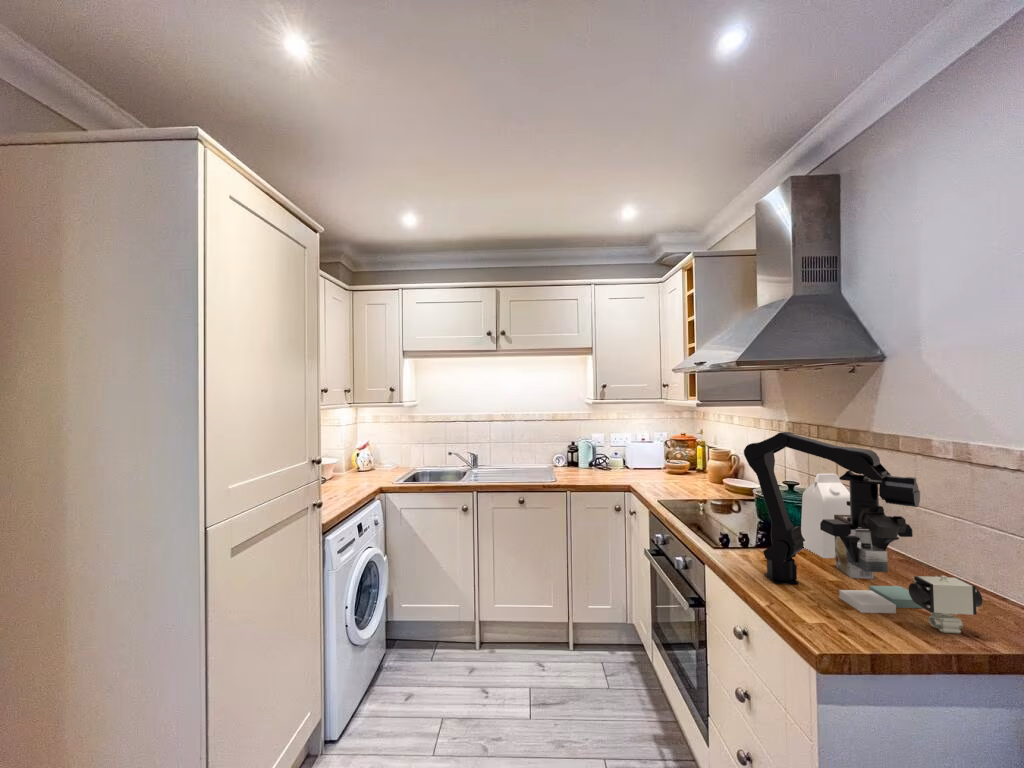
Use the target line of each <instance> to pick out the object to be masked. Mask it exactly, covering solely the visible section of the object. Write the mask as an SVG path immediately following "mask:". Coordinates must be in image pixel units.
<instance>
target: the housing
mask: <svg viewBox="0 0 1024 768" xmlns="http://www.w3.org/2000/svg"><path fill="white" fill-rule="evenodd" d="M857 549H858V561H857V563H855V562H853V560H852V558H851V556H850V555H849V553H848V551H847V549H846V555H847V562H849V563H851V564H853V565H854V566H856V567H858V568H860V569H862V570H864V571H865V572H874V573H889V570H888V568H889V566H888V565H889V564H888V550H883V549H881V548H878V547H876V546H874V545H872V544H870V543H867V542H857Z"/></svg>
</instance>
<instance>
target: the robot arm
mask: <svg viewBox="0 0 1024 768" xmlns="http://www.w3.org/2000/svg"><path fill="white" fill-rule="evenodd" d="M785 448H789V449H792V450H795V451H798V452H802V453H805V454H809V455H812V456H815V457H819V458H823V459H826V460H828V461H830V462H833V463H834V464H836V465H838V466H840V467H841V468H843V469H846V470H847V471H845V473H844V474H842V475H841V476H838V477H839V479H840V481H847V482H848V481H849V482H848V483H849V492H850V501H847V505H848V506H850V513H851V517H847V521H848V522H851V524H846V523H844V522H842V521H839V520H837V519H823V520H822V521H821V523H820V530H822V531H824V532H826V533H829V534H831V535H833V536H839V537H840V539H841V540H842V542H843V543H844V545H845V547H846V549H847V551H848V553H849V555H850V556H851V558H852V560H853V562H855V563H857V561H858V549H857V542H858V541H859V540H860V538H859V537H857V536H856V532H870V533H871V540H872V545H874V546H876V547H878V548H881V549H883V550H885V551H887V548H888V546H889V545H890V543H893V542H894V541H898V540H900V537H901V538H913V536H914V535H913V528H912V527H911V525H910V524H908V523H907V522H906V519H905V518H904V517H903V516H902V515H899V516H898V515H894V516H892V515H891V516H890V515H888V516H887V515H886V513H885V509H884V506H882V505H880V503H879V501H880V499H881V500H882V501H884V502H885V503H886V504H890V505H897V506H898V505H899V506H904V507H911V508H919V505H920V502H921V490H919V484H918V483H917V478H916V477H912V476H911V477H910V476H908V477H907V476H904V477H903V476H895V475H894V476H893V475H891V473H890V472H889V471H888V470H887V469H886V467H884V466H883V465H882V464H881V460H880V456H879V455H878V454H877V453H876V452H875V451H874V450H872V449H868V448H861V447H849V446H840V445H835V444H831V443H828V442H824V441H820V440H815V439H813V438H810V437H805V436H803V435H802V436H801V435H798V434H794V433H792V432H789V431H782V432H778V433H776V434H775V435H773V436H771V437H769V438H766V439H764V440H762V441H760V442H759V441H757V442H752V443H749V444H747V445H746V446H745V447H744V449H743V456H744V458H745V460H746V462H747V463H748V466H749V467H750V468H751V470H752V471H753V472H754V473H755V475H756V477H757V480H758V483H759V487H760V490H761V493H762V497H763V499H764V503H765V506H766V508H767V509H766V510H767V512H768V517H769V519H770V522H771V529H770V540H771V545H770V546H769V547H767V548H766V549H764V550H763V551H762V553H763V555H764V558H765V560H766V572H764V573H763V574H764V576H765V577H766V578H768V579H769V580H770V581H771V582H772V583H774V584H777V585H779V584H780V585H799V581H798V580H797V579H798V574H797V573H798V571H797V568H798V566H797V564H796V560H795V559H794V558H795V557H796V555H797V554H798V553H800V552H801V551H802V550H803V549H804V548H803V546H804V544H803V542H804V541H805V539H804V538H803V536H802V533H801V526H800V525H798V526H795V525H794V524H793V523H792V521H791V520H790V517H789V514H788V512H787V511H788V510H787V509H786V504H785V502H784V498H783V496H782V492H781V489H780V486H779V484H778V479H777V477H776V474H775V463H776V459H775V454H776V453H778V452H780V451H782V450H784V449H785ZM879 498H880V499H879ZM858 527H861V528H858Z"/></svg>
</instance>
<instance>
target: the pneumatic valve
mask: <svg viewBox="0 0 1024 768" xmlns="http://www.w3.org/2000/svg"><path fill="white" fill-rule="evenodd" d="M908 590H909V594H910V597H911V599H912V600H913V601H914V602H915V603H916V604H918V605H919V606H921V607H923V608H922V609H924V610H926V611H927V612H930V613H929V614H930V615H929V617H928V623H929V624H930V626H932V627H933V628H935V629H938V631H939V632H941V633H943V634H957V635H959V634H961V633H962V631H961V629H962V628H963V627H964V625H963V622H962V620H961V618H959V617H957V616H958V615H971V616H972V615H973V616H976V615H977V610H978V608H980V607H981V606H982V605H983V602H984V601H983V596H982V594H981V592H980V590H979V589H978V588H977V587H976V586H975V585H973V584H971V583H969V582H968V581H965V580H963V579H961V578H959V577H951V576H950V577H949V576H946V575H940V576H938V575H935V576H931V575H927V576H925V575H924V576H923V575H922V576H919V575H914V580H913V582H911V583H910V584H908Z"/></svg>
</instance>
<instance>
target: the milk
mask: <svg viewBox="0 0 1024 768" xmlns="http://www.w3.org/2000/svg"><path fill="white" fill-rule="evenodd" d="M839 477H840V476H839V475H838V474H837V473H816V475H815V479H814V482H812V483H811V484H810V485H809V486H808V487H807V488H806V489H805V490H804V491H803V493H802V498H801V499H802V500H801V519H800V521H801V523H800V525H801V526H800V528H801V533H802V536H803V538H804V539H805V541H804V542H803V544H804V546H803V547H804V548H803V549H805V548H806V549H805V550H807V549H808V550H807V551H809V550H810V551H811V553H812V552H813V553H812V554H814V553H815V554H814V555H816V554H817V555H816V556H818V555H819V556H818V557H820V558H822V559H835V536H833V535H831V534H829V533H826V532H824V531H822V530H820V523H821V521H822V520H823V519H834V515H851V513H850V506H848V505H847V501H850V490H848V489H847V487H846V486H845V485H844V484H843V483H842V482H841V481H842V480H840V479H839ZM810 551H809V552H810Z"/></svg>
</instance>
